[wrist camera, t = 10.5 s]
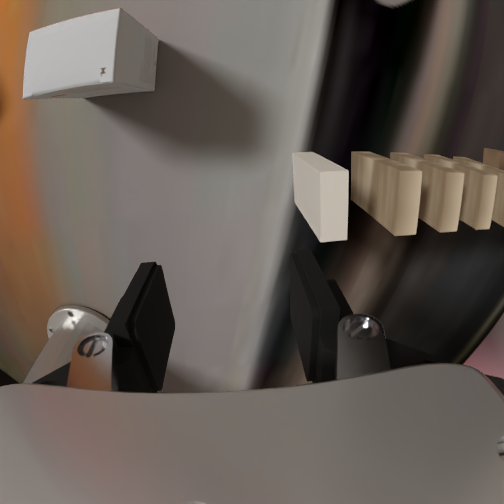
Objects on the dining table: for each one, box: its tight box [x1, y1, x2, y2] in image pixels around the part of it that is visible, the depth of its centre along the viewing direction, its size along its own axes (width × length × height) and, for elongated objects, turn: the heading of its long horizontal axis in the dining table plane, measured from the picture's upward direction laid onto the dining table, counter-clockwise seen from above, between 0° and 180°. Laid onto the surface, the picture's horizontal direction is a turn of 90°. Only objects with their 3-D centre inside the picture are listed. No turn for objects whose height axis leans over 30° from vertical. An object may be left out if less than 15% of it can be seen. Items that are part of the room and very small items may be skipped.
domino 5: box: [453, 156, 504, 227], centre depth 25 cm, size 2×5×10 cm, turn 4°
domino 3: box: [390, 152, 464, 233], centre depth 25 cm, size 2×5×10 cm, turn 4°
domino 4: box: [424, 154, 498, 230], centre depth 25 cm, size 2×5×10 cm, turn 5°
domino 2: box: [351, 152, 422, 236], centre depth 25 cm, size 2×5×10 cm, turn 4°
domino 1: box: [292, 152, 349, 242], centre depth 25 cm, size 2×5×10 cm, turn 5°
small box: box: [23, 8, 159, 99], centre depth 19 cm, size 8×6×10 cm
